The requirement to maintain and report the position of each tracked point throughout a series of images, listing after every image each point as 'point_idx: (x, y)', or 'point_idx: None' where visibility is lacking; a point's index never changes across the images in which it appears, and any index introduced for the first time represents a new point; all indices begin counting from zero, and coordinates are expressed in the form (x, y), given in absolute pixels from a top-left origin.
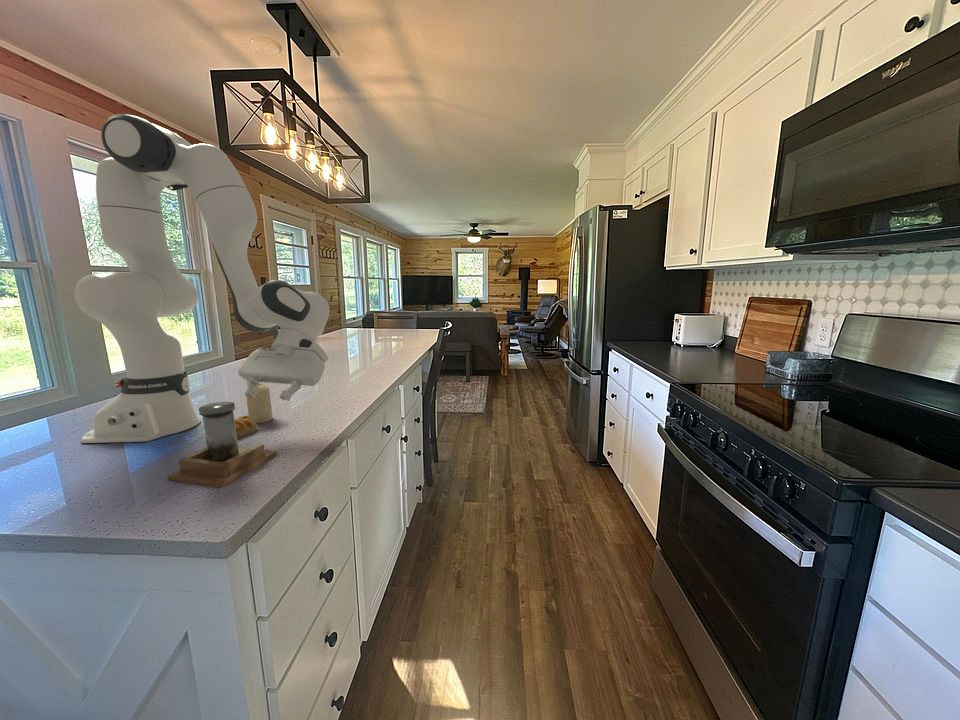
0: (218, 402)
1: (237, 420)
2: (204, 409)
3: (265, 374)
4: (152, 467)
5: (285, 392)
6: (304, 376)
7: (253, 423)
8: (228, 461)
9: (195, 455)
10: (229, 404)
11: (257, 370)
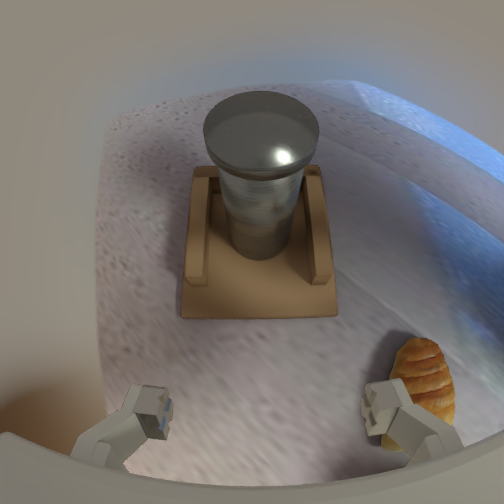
0: (300, 152)
1: (427, 407)
2: (268, 97)
3: (342, 488)
4: (401, 202)
5: (134, 401)
6: (8, 441)
7: (392, 440)
8: (200, 181)
9: (307, 188)
10: (229, 143)
11: (438, 489)
